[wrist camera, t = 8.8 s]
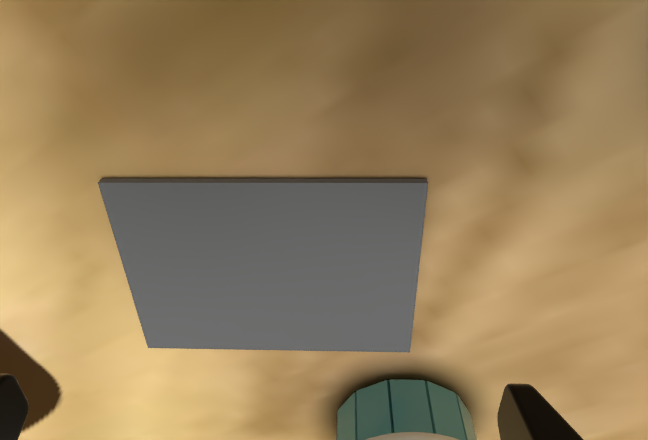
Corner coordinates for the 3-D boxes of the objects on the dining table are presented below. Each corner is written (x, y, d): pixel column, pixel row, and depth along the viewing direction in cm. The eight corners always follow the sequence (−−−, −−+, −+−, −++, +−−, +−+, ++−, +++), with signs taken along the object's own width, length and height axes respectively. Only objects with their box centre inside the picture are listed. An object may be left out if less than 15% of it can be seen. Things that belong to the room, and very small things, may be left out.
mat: (426, 178, 20) (427, 183, 20) (409, 346, 25) (409, 352, 25) (102, 178, 21) (98, 182, 20) (150, 342, 26) (148, 347, 26)
